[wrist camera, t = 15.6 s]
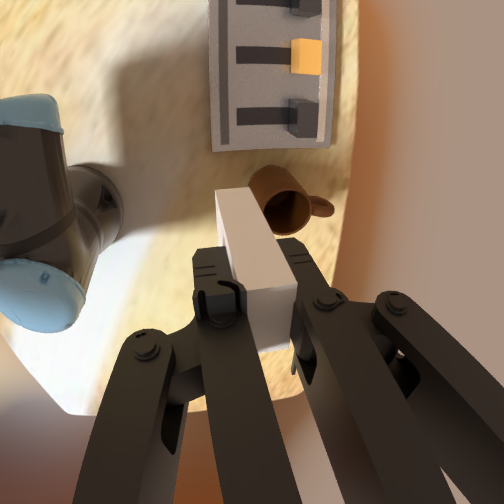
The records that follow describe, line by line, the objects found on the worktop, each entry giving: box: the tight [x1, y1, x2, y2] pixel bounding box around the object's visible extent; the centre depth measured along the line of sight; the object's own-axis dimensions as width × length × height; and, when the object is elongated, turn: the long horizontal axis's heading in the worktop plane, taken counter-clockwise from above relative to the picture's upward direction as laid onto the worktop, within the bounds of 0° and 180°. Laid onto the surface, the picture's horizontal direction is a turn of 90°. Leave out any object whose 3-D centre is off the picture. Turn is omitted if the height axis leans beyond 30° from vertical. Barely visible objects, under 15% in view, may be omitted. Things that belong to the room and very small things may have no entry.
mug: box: [248, 166, 334, 236], centre depth 45 cm, size 12×8×9 cm, turn 82°
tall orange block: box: [291, 38, 322, 75], centre depth 34 cm, size 3×5×4 cm, turn 0°
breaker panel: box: [208, 0, 337, 152], centre depth 34 cm, size 18×28×6 cm, turn 0°
